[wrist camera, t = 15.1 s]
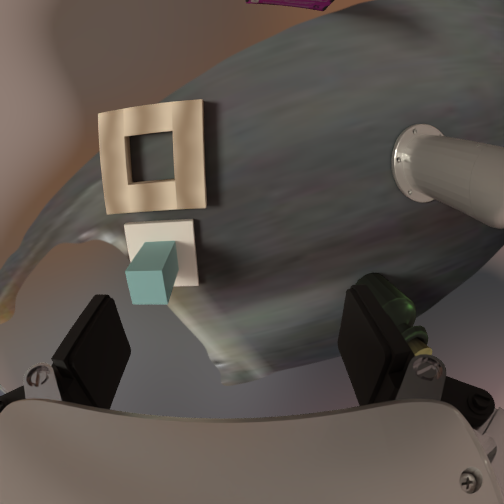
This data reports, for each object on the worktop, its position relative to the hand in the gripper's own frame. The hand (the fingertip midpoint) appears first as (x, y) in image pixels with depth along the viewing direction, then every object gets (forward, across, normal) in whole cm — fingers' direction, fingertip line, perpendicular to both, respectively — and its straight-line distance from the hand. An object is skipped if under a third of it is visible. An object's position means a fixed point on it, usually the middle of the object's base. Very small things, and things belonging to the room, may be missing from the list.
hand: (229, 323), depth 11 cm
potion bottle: (+30, -21, +18) cm, 41 cm away
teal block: (+28, +11, +9) cm, 31 cm away
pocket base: (+29, +11, -5) cm, 31 cm away
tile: (+29, +12, +9) cm, 32 cm away
